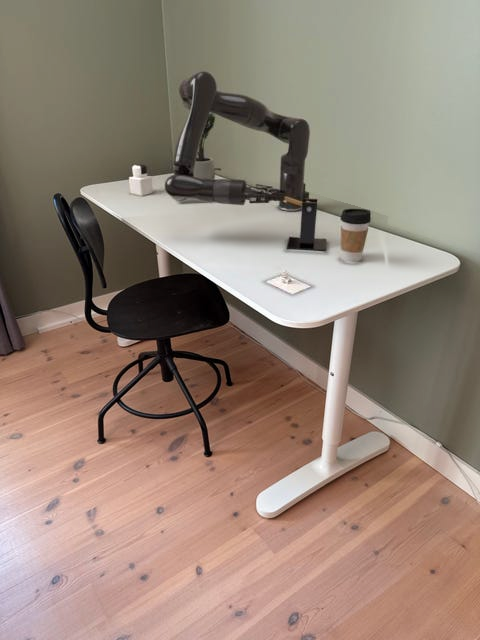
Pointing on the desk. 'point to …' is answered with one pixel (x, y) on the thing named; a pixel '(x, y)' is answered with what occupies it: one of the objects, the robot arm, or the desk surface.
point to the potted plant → (203, 164)
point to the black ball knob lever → (288, 198)
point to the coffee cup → (354, 233)
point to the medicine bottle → (140, 181)
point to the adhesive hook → (288, 283)
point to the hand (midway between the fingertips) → (285, 195)
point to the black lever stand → (307, 230)
